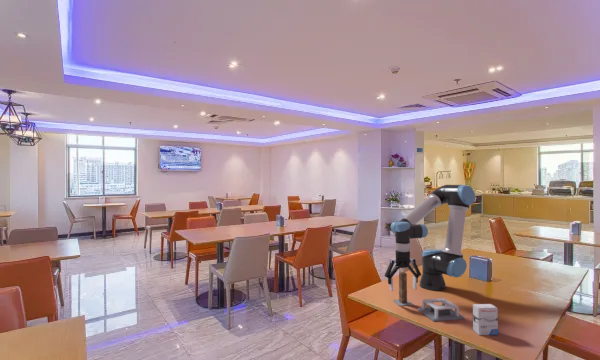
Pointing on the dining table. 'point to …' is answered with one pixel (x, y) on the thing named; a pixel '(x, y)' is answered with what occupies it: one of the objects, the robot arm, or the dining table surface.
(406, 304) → the mat
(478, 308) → the ink box
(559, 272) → the dining table surface
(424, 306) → the white open frame stand
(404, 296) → the walnut rod
